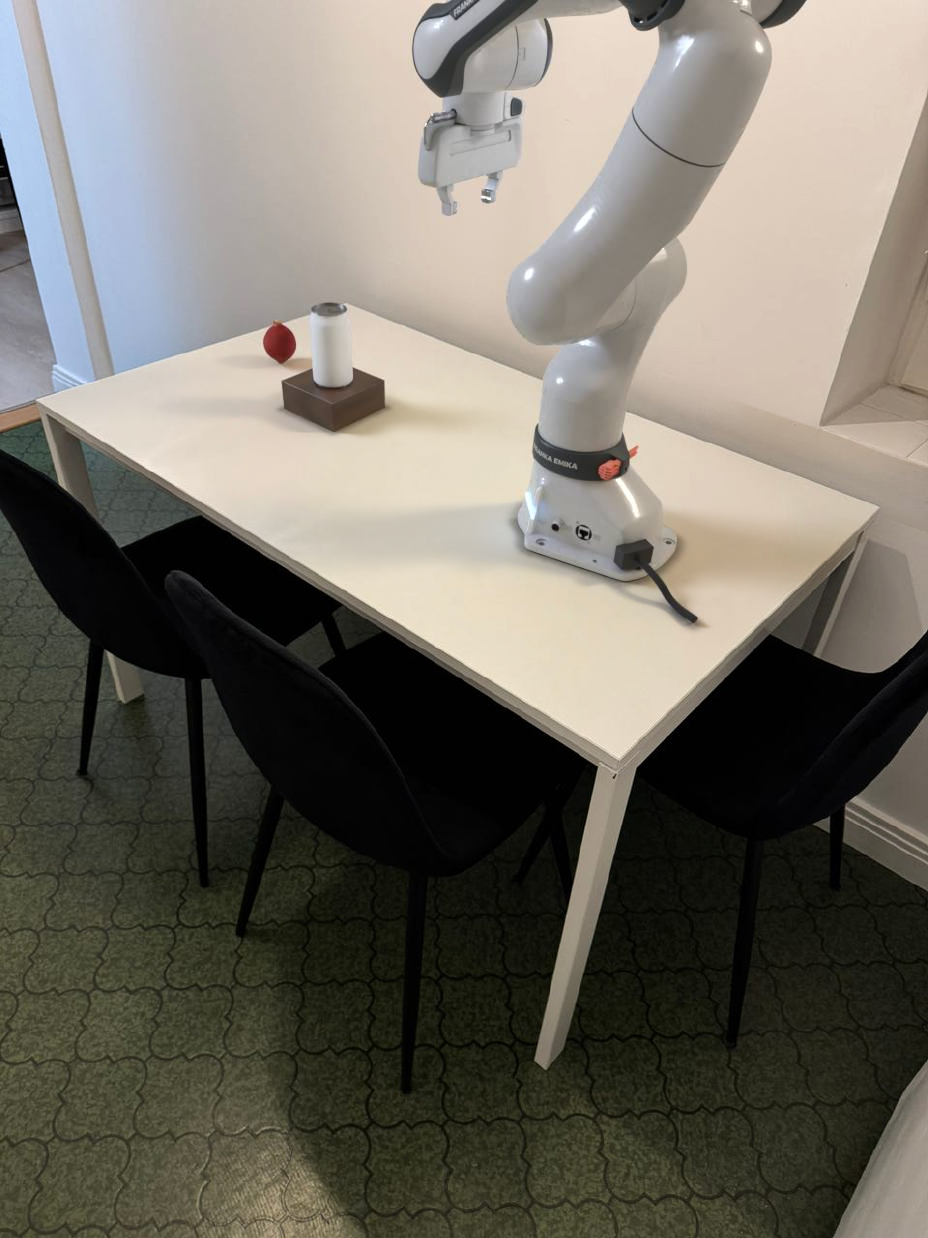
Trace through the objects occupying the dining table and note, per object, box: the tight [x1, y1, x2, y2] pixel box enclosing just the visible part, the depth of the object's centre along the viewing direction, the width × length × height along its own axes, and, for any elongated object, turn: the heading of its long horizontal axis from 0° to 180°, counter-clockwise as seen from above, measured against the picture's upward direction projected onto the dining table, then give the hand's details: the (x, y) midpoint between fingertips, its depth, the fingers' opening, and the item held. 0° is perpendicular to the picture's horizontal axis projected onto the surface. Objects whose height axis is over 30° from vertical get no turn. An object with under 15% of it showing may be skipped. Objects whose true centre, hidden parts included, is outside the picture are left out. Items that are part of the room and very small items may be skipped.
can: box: [308, 301, 354, 388], centre depth 145 cm, size 6×6×12 cm
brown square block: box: [281, 367, 386, 433], centre depth 151 cm, size 12×12×5 cm
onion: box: [262, 319, 297, 364], centre depth 163 cm, size 6×6×8 cm
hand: (469, 208), depth 138 cm, fingers open, 8 cm apart
